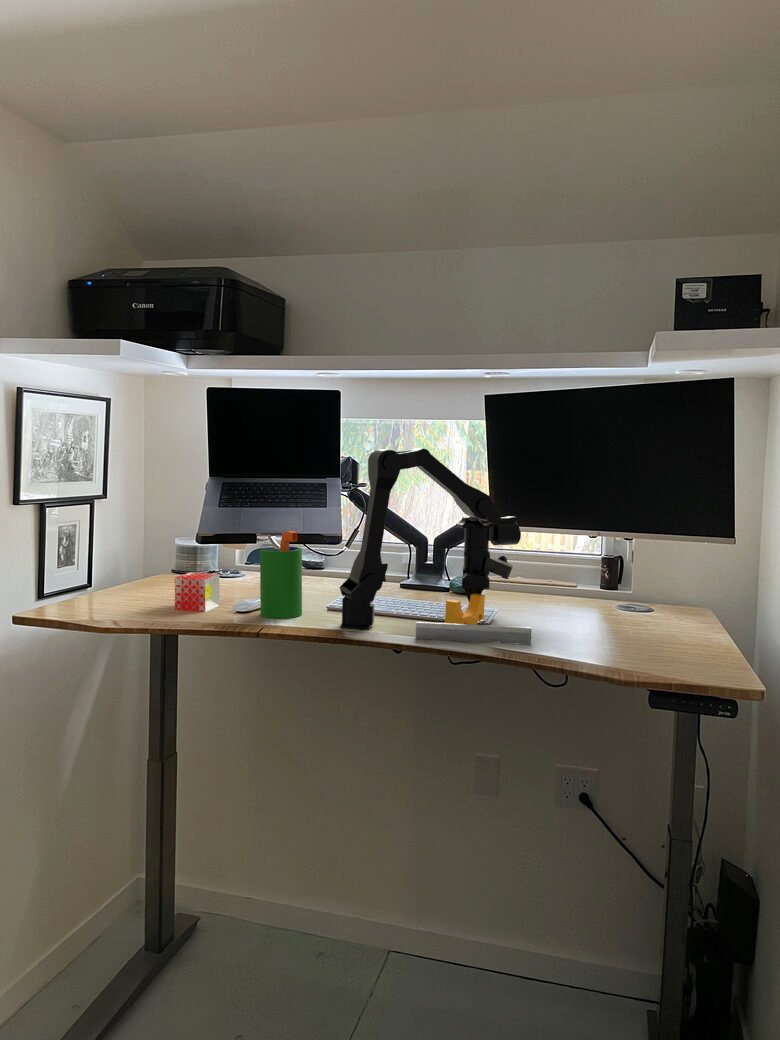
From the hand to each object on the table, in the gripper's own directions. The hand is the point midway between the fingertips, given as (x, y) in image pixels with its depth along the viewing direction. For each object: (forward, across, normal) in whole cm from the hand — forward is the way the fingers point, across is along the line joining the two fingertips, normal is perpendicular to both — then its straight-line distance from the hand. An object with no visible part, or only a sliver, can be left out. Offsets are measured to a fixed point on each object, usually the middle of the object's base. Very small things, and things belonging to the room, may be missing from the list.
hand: (474, 611), depth 188 cm
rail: (+1, -22, 0) cm, 22 cm away
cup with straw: (+2, -5, +45) cm, 46 cm away
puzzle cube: (+2, -2, +67) cm, 67 cm away
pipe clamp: (+2, -9, +2) cm, 9 cm away
